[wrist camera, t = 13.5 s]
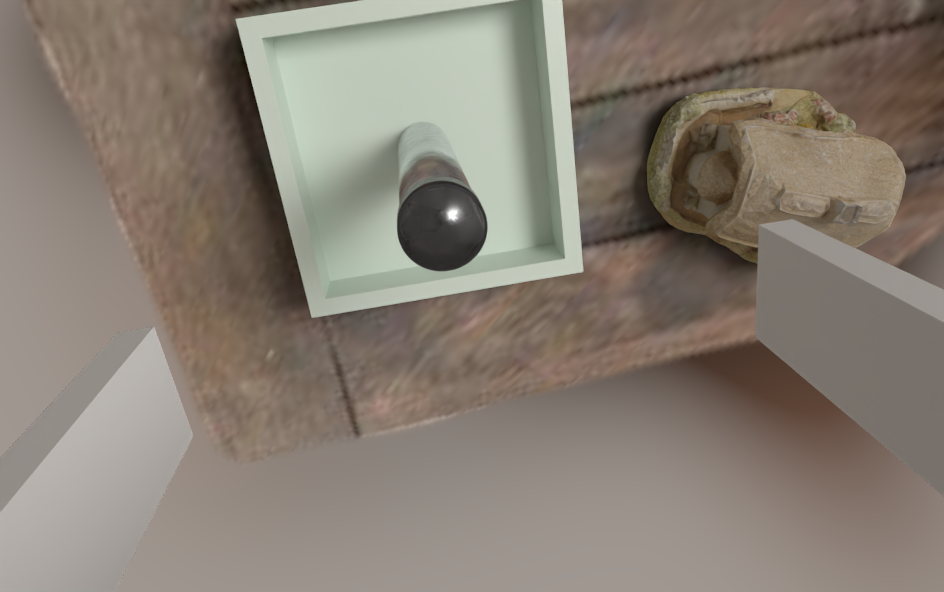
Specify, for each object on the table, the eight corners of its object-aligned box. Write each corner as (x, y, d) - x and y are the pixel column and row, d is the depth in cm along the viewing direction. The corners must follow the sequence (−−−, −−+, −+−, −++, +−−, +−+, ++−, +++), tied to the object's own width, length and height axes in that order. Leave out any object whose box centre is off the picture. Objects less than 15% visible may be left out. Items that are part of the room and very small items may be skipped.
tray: (252, 20, 35) (235, 18, 32) (542, -23, 36) (559, -29, 32) (319, 292, 41) (311, 317, 38) (566, 251, 42) (583, 271, 38)
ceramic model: (878, 103, 41) (1019, 123, 32) (815, 271, 45) (924, 332, 36) (669, 63, 39) (755, 72, 29) (621, 243, 43) (684, 301, 33)
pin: (391, 124, 37) (389, 192, 22) (447, 116, 37) (481, 177, 23) (401, 180, 38) (405, 278, 24) (455, 171, 38) (492, 263, 24)
